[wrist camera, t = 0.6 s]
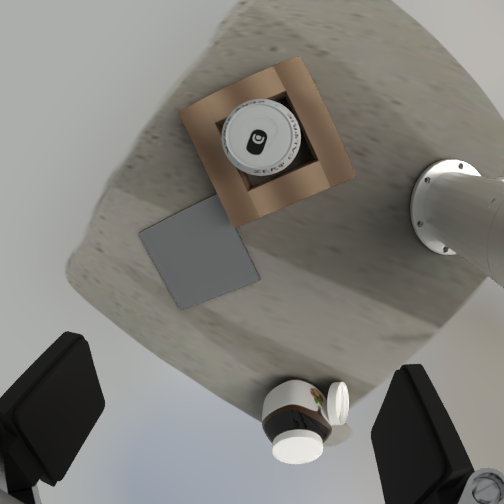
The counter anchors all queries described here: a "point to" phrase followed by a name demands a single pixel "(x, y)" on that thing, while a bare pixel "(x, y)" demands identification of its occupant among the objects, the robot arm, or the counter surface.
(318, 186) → the walnut frame
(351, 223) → the counter surface
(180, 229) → the rubber mat
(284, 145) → the energy drink can
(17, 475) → the robot arm
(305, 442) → the spread jar
